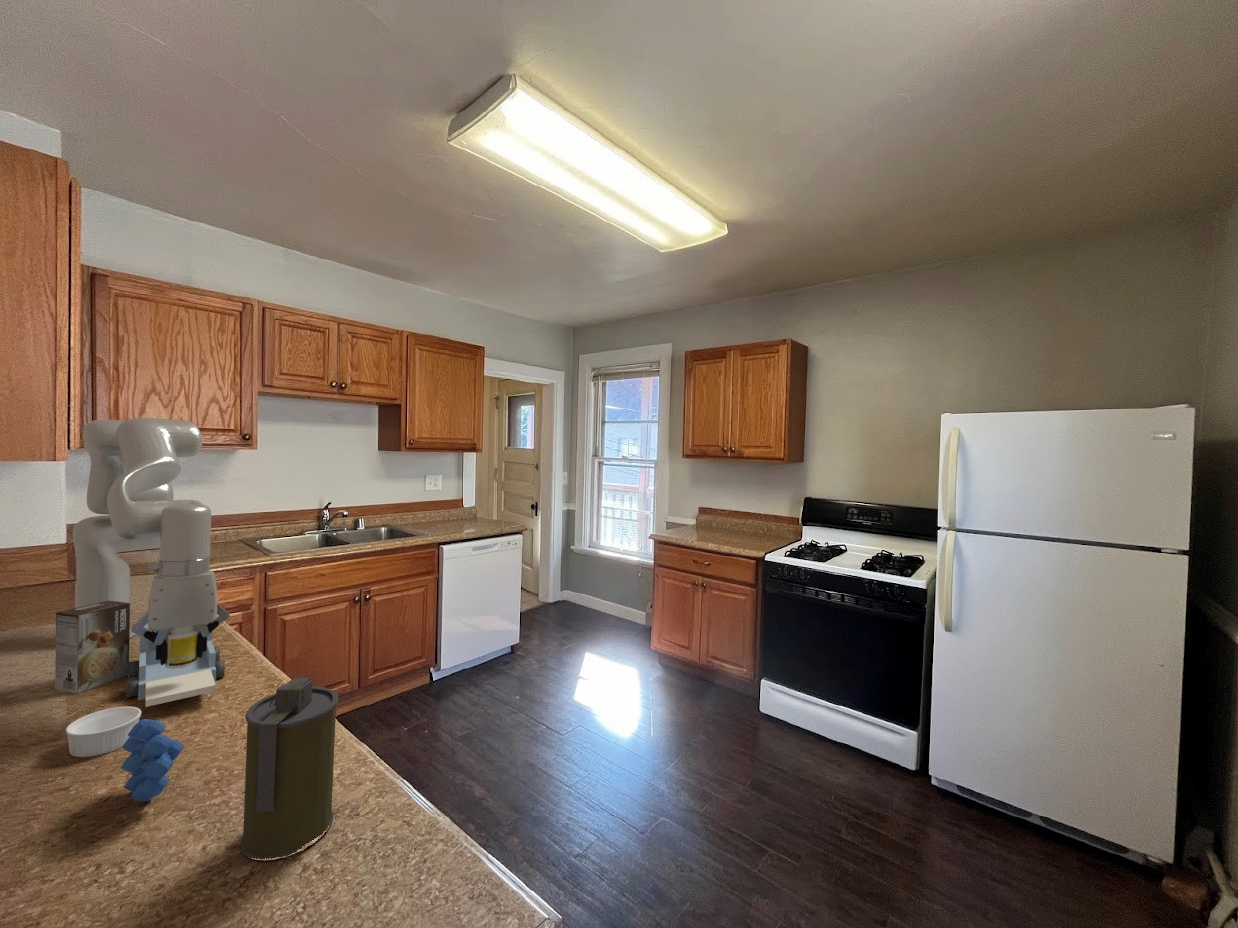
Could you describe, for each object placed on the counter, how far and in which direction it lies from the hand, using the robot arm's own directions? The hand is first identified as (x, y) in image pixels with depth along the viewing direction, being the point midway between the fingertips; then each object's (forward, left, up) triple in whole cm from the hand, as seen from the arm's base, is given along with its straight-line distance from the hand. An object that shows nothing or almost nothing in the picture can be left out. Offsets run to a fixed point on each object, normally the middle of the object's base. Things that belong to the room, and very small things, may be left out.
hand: (181, 658), depth 98 cm
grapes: (+31, -4, -9) cm, 33 cm away
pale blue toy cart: (-15, 0, -9) cm, 17 cm away
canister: (+51, +9, -9) cm, 53 cm away
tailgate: (-6, 0, -6) cm, 8 cm away
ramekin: (+9, -10, -9) cm, 17 cm away
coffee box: (-22, -13, -9) cm, 27 cm away
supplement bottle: (0, 0, -1) cm, 1 cm away
